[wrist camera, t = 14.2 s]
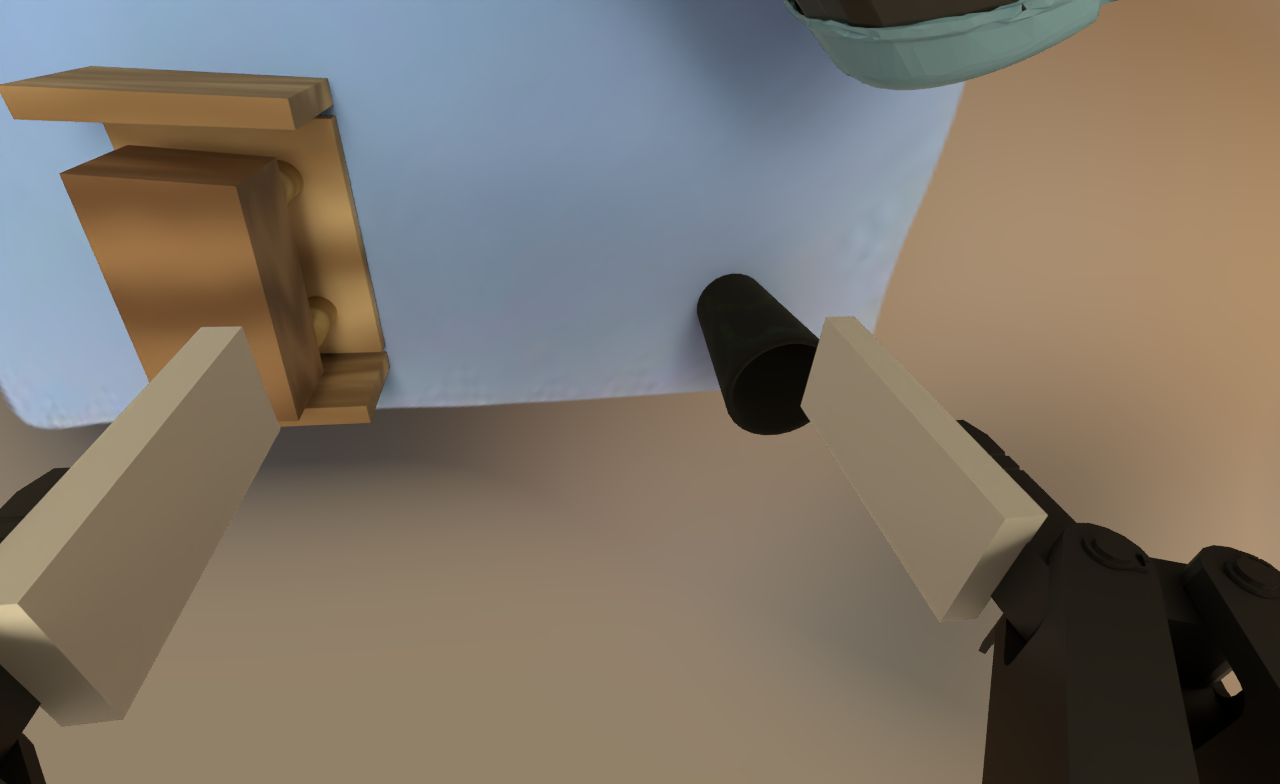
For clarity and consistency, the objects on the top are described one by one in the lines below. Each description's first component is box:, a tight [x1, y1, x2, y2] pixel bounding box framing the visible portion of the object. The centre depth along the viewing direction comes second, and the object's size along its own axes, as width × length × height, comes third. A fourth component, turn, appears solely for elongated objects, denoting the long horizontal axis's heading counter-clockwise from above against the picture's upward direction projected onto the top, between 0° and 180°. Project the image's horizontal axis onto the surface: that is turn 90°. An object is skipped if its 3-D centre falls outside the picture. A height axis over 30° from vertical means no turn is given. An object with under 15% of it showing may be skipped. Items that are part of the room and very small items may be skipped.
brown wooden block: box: [59, 145, 324, 421], centre depth 32 cm, size 14×7×6 cm, turn 173°
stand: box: [0, 66, 390, 427], centre depth 35 cm, size 20×12×7 cm, turn 176°
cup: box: [697, 274, 819, 435], centre depth 42 cm, size 8×8×12 cm
